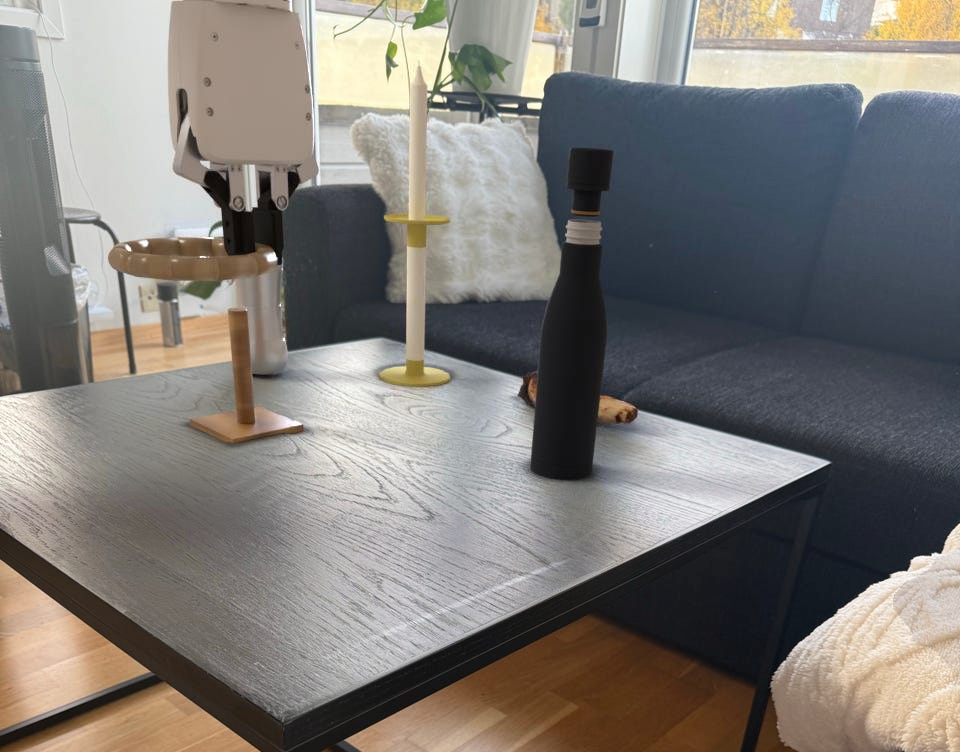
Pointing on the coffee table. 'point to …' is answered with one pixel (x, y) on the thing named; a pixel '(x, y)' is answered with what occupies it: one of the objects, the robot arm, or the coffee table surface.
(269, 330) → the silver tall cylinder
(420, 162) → the candle
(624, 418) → the brown oblong lump
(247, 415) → the stand
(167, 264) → the ring
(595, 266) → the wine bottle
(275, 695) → the coffee table surface
